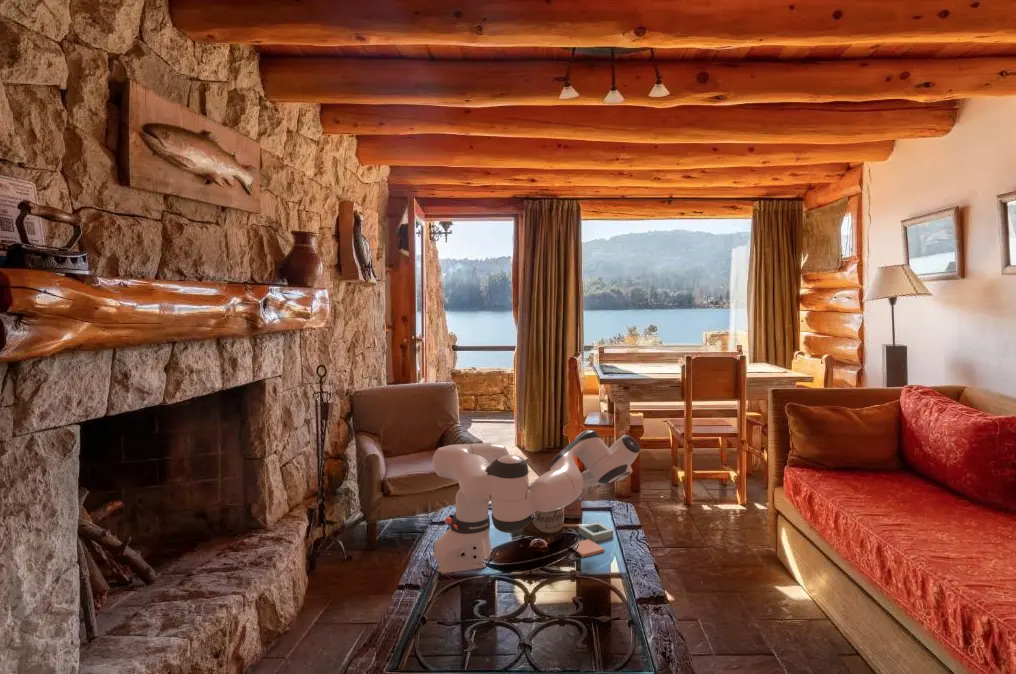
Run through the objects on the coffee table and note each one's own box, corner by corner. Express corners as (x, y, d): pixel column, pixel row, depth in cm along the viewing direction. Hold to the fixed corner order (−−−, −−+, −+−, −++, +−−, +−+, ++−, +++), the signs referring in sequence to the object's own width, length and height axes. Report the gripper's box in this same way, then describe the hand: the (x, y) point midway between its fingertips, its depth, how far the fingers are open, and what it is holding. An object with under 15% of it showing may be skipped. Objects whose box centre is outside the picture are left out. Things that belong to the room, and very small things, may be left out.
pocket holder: (592, 542, 217) (593, 535, 217) (578, 533, 225) (578, 526, 225) (613, 537, 222) (613, 530, 221) (598, 528, 229) (598, 521, 229)
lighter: (581, 515, 242) (581, 490, 241) (581, 518, 239) (581, 493, 238) (561, 514, 243) (561, 490, 242) (561, 517, 240) (561, 493, 239)
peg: (591, 501, 216) (591, 479, 215) (584, 498, 220) (584, 476, 219) (600, 499, 218) (600, 477, 217) (593, 496, 221) (593, 474, 221)
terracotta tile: (582, 557, 206) (582, 554, 206) (568, 547, 214) (568, 544, 213) (604, 551, 210) (604, 548, 210) (589, 541, 218) (589, 539, 218)
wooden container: (537, 548, 213) (537, 487, 211) (515, 533, 226) (515, 475, 223) (571, 538, 220) (572, 479, 218) (548, 524, 233) (548, 468, 231)
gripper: (589, 480, 202) (572, 500, 212) (636, 470, 212) (618, 489, 222) (581, 464, 206) (564, 484, 215) (628, 455, 216) (610, 474, 225)
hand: (592, 486), depth 218 cm, fingers closed on peg, 4 cm apart
